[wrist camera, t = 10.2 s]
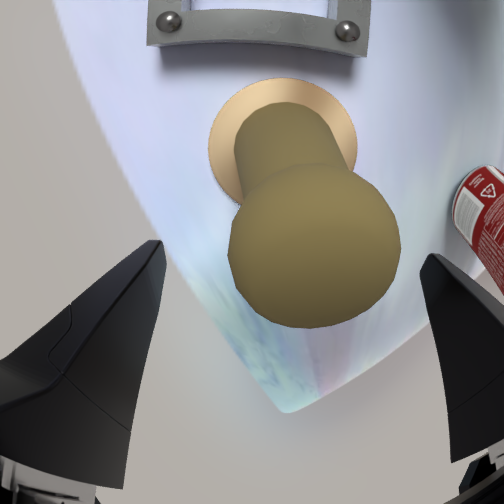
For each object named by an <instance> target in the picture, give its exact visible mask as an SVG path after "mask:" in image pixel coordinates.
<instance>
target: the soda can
mask: <svg viewBox="0 0 504 504" xmlns="http://www.w3.org/2000/svg"><path fill="white" fill-rule="evenodd" d="M452 220H453V224H454V226H455V228H456V229H457V230H458V232H459V233H460V234H461V235H462V237H463V238H464V239H465V240H466V242H467V243H468V244H469V246H470V247H471V248H472V250H473V251H474V252H475V254H476V255H477V256H478V258H479V259H480V260H481V262H482V263H483V265H484V266H485V268H486V269H487V270H488V272H489V273H490V275H491V276H492V278H493V279H494V281H495V282H496V284H497V286H498V287H499V289H500V290H501V292H502V294H503V295H504V174H503V173H502V172H501V171H499V170H498V169H497V168H495V167H494V166H491V165H483V166H480V167H477V168H476V169H474V170H473V171H471V172H470V173H469V174H468V175H467V176H466V177H465V179H464V180H463V181H462V183H461V184H460V186H459V188H458V190H457V192H456V194H455V197H454V201H453V205H452Z"/></svg>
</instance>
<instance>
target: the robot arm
mask: <svg viewBox="0 0 504 504" xmlns="http://www.w3.org/2000/svg"><path fill="white" fill-rule="evenodd" d="M166 265H167V263H166V256H165V251H164V245H163V242H162V241H161V240H148V241H147V242H145V243H144V244H143V245H141V246H140V247H139V248H138V249H136V250H135V251H134V252H132V253H131V254H130V255H128V256H127V257H126V258H125V259H123V260H122V261H121V262H119V263H118V264H117V265H116V266H114V267H113V268H112V269H111V270H110V271H108V272H107V273H106V274H105V275H103V276H102V277H101V278H100V279H98V280H97V281H96V282H95V283H94V284H92V285H91V286H90V287H89V288H88V289H86V290H85V291H84V292H83V293H82V294H81V295H79V296H78V297H77V298H76V299H75V300H74V301H72V303H71V305H70V304H69V305H68V306H67V307H66V308H64V309H63V310H62V311H61V312H60V313H59V314H58V315H56V316H55V317H54V318H53V319H52V320H51V321H50V322H48V323H47V324H46V325H45V326H43V327H42V328H41V329H40V330H39V331H37V332H36V333H35V334H34V335H32V336H31V337H30V338H29V339H27V340H26V341H25V342H24V343H22V344H21V345H20V346H19V347H18V348H17V349H15V350H14V351H13V352H12V353H10V354H9V355H8V356H7V357H5V358H3V359H1V360H0V504H100V502H99V501H98V499H97V498H96V496H95V493H96V485H97V486H102V487H109V488H115V489H123V484H124V476H125V468H126V461H127V455H128V448H129V442H130V436H131V432H130V431H131V429H132V423H133V418H134V413H135V408H136V403H137V398H138V393H139V389H140V384H141V380H142V375H143V371H144V366H145V362H146V358H147V354H148V350H149V346H150V342H151V338H152V334H153V330H154V327H155V323H156V320H157V316H158V312H159V307H160V301H161V295H162V289H163V284H164V277H165V272H166ZM420 280H421V285H422V289H423V293H424V298H425V303H426V308H427V313H428V316H429V320H430V324H431V328H432V331H433V336H434V340H435V344H436V348H437V352H438V357H439V362H440V367H441V372H442V378H443V383H444V390H445V397H446V404H447V412H448V424H449V435H450V436H449V437H450V456H451V457H450V459H451V463H453V462H456V461H458V460H461V459H463V458H466V457H468V456H470V455H473V454H475V453H477V452H479V451H481V450H484V449H485V448H488V452H487V453H486V454H484V455H482V456H481V457H479V458H477V459H476V460H474V461H472V462H471V463H470V464H469V467H468V469H467V471H466V473H465V475H464V478H463V480H462V482H461V484H460V486H459V496H457V497H455V498H453V499H452V500H450V501H448V502H446V503H444V504H504V305H503V304H501V303H500V302H499V301H498V300H497V299H496V298H494V297H493V296H492V295H491V294H490V293H489V292H488V291H486V290H485V289H484V288H483V287H482V286H480V285H479V284H478V283H477V282H475V281H474V280H473V279H472V278H470V277H469V276H468V275H467V274H465V273H464V272H463V271H461V270H460V269H459V268H458V267H456V266H455V265H454V264H452V263H451V262H450V261H448V260H447V259H445V258H444V257H443V256H441V255H440V254H435V253H431V254H429V255H428V256H427V258H426V260H425V262H424V264H423V266H422V268H421V270H420Z"/></svg>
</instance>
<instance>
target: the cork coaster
mask: <svg viewBox="0 0 504 504" xmlns="http://www.w3.org/2000/svg"><path fill="white" fill-rule="evenodd" d="M279 102H292V103H297V104H301V105H305V106H307V107H308V108H310V109H312V110H313V111H315V112H317V113H318V114H319V115H320V116H321V117H322V118H323V119H324V120H325V122H326V123H327V124H328V125H329V127H330V129H331V131H332V133H333V135H334V137H335V140H336V142H337V144H338V146H339V148H340V151H341V153H342V155H343V157H344V160H345V162H346V164H347V167H348V169H349V170H350V171H353V169H354V166H355V162H356V157H357V137H356V132H355V129H354V125H353V123H352V121H351V118H350V116H349V115H348V113H347V111H346V110H345V108H344V107H343V106H342V105H341V104H340V102H339V101H338V100H337V99H336V98H334V97H333V96H332V95H331V94H330V93H328V92H327V91H325V90H324V89H322V88H320V87H318V86H316V85H314V84H312V83H309V82H306V81H302V80H298V79H292V78H273V79H267V80H263V81H259V82H256V83H254V84H251V85H249V86H247V87H245V88H243V89H242V90H240V91H239V92H237V93H236V94H235V95H233V96H232V97H231V98H230V99H229V100H228V101H227V102H226V103H225V105H224V106H223V107H222V109H221V110H220V111H219V113H218V115H217V116H216V118H215V120H214V122H213V125H212V128H211V131H210V136H209V143H208V153H209V160H210V165H211V168H212V171H213V173H214V176H215V178H216V179H217V181H218V183H219V184H220V186H221V187H222V188H223V190H224V191H225V192H226V193H227V194H228V195H229V196H230V197H231V198H232V199H234V200H235V201H236V202H237V203H239V204H241V205H242V204H243V202H244V199H243V194H242V189H241V184H240V180H239V175H238V170H237V165H236V160H235V155H234V144H235V137H236V134H237V132H238V130H239V128H240V126H241V125H242V123H243V121H244V120H245V119H246V118H247V117H249V116H250V115H251V114H252V113H253V112H254V111H255V110H257V109H259V108H261V107H264V106H266V105H268V104H271V103H279Z"/></svg>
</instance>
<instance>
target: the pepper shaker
mask: <svg viewBox="0 0 504 504" xmlns="http://www.w3.org/2000/svg"><path fill="white" fill-rule="evenodd" d="M234 155H235V160H236V165H237V170H238V175H239V180H240V184H241V189H242V194H243V199H244V202H243V204H242V205H241V207H240V209H239V210H238V212H237V214H236V216H235V217H234V219H233V221H232V227H231V234H230V241H229V248H228V255H227V256H228V260H229V264H230V268H231V271H232V275H233V279H234V282H235V286H236V289H237V290H238V291H239V292H240V294H241V295H242V296H243V297H244V299H245V300H246V301H247V302H248V304H249V305H250V306H251V307H252V308H253V310H254V311H255V312H256V313H258V314H259V315H261V316H263V317H264V318H266V319H268V320H269V321H271V322H273V323H277V324H280V325H284V326H287V327H292V328H307V329H312V328H319V327H327V326H332V325H335V324H339V323H342V322H345V321H347V320H350V319H352V318H354V317H356V316H358V315H359V314H361V313H363V312H365V311H366V310H368V309H369V308H371V307H372V306H373V305H374V304H375V303H376V302H377V301H378V300H379V299H381V298H382V297H383V296H384V294H385V293H386V291H387V290H388V288H389V287H390V285H391V284H392V282H393V281H394V278H395V274H396V271H397V267H398V263H399V258H400V253H401V244H400V236H399V229H398V225H397V222H396V218H395V215H394V213H393V212H392V210H391V209H390V207H389V205H388V204H387V202H386V201H385V199H384V198H383V196H382V195H381V194H380V192H379V191H378V190H377V189H376V188H375V187H374V186H373V185H372V184H370V183H369V182H367V181H366V180H365V179H363V178H362V177H360V176H359V175H357V174H356V173H354V172H352V171H350V170H349V169H348V167H347V164H346V162H345V160H344V157H343V155H342V153H341V151H340V148H339V146H338V144H337V142H336V140H335V137H334V135H333V133H332V131H331V129H330V127H329V125H328V124H327V123H326V122H325V120H324V119H323V118H322V117H321V116H320V115H319V114H318V113H317V112H315V111H313V110H312V109H310V108H308V107H307V106H305V105H301V104H297V103H292V102H279V103H271V104H268V105H266V106H264V107H261V108H259V109H257V110H255V111H254V112H253V113H252V114H251V115H250V116H249V117H247V118H246V119H245V120H244V121H243V123H242V125H241V126H240V128H239V130H238V132H237V134H236V137H235V144H234Z"/></svg>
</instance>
